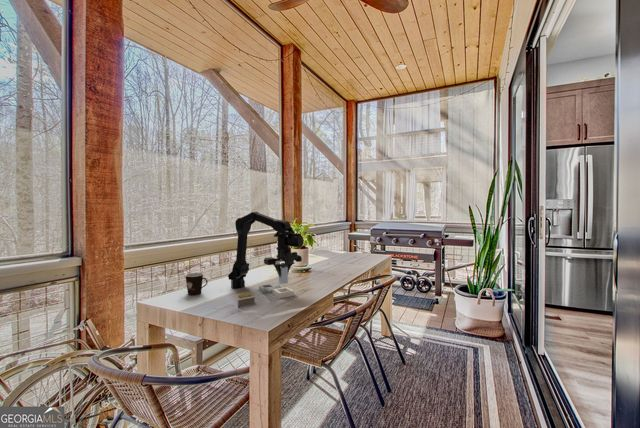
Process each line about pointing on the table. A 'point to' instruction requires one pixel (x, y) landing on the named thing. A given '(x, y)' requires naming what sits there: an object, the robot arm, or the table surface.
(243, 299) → the platform
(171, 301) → the table surface
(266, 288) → the hollow square tube
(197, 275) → the coffee mug
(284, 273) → the plug
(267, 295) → the panel board
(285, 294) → the port block
